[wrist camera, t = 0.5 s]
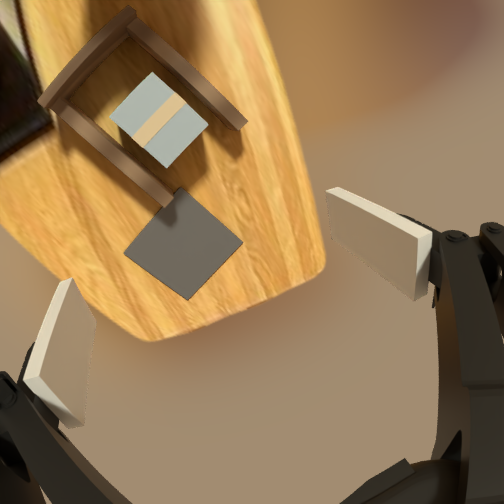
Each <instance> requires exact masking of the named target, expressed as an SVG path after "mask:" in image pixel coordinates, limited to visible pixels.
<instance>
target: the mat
mask: <svg viewBox="0 0 504 504" xmlns="http://www.w3.org/2000/svg"><path fill="white" fill-rule="evenodd" d="M173 196H174V198H173V199H172V200H171V202H170V203H169V204H168V205H167V206H166V207H165V208H164V207H162V208H161V209H160V210H159V211H158V213H157V214H156V215H155V216H154V217H153V218H152V219H151V221H150V222H149V223H148V224H147V225H146V226H145V228H144V229H143V230H142V231H141V232H140V233H139V235H138V236H137V237H136V238H135V239H134V241H133V242H132V243H131V244H130V245H129V247H128V248H127V249H126V250H125V252H124V254H125V255H126V256H128V257H129V258H130V259H132V260H133V261H134V262H135V263H137V264H138V265H140V266H141V267H142V268H144V269H145V270H146V271H148V272H149V273H150V274H152V275H153V276H154V277H156V278H157V279H159V280H160V281H161V282H163V283H164V284H165V285H167V286H168V287H170V288H171V289H172V290H174V291H175V292H177V293H178V294H180V295H181V296H182V297H184V298H185V299H187V300H188V299H189V298H190V297H191V296H192V295H193V294H194V293H195V292H196V291H197V290H198V289H199V288H200V287H201V286H202V285H203V284H204V283H205V282H206V280H207V279H208V278H209V277H210V276H211V275H212V274H213V273H214V272H215V271H216V270H217V269H218V268H219V267H220V266H221V265H222V264H223V263H224V262H225V261H226V260H227V259H228V258H229V256H230V255H231V254H232V253H233V252H234V251H235V250H236V249H237V248H238V247H239V246H240V245H241V244H242V243H243V242H242V241H241V240H240V239H239V238H238V237H237V236H236V235H235V234H233V233H232V232H231V231H230V230H229V229H228V228H227V227H226V226H224V225H223V224H222V223H221V222H220V221H219V220H218V219H217V218H215V217H214V216H213V215H212V214H211V213H210V212H209V211H208V210H206V209H205V208H204V207H203V206H202V205H201V204H200V203H199V202H197V201H196V200H195V199H194V198H193V197H192V196H191V195H190V194H188V193H187V192H186V191H185V190H184V189H183V188H182V187H180V188H179V189H178V190H177V191H176V192H175V193H174V195H173Z"/></svg>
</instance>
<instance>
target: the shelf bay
mask: <svg viewBox="0 0 504 504" xmlns="http://www.w3.org/2000/svg"><path fill="white" fill-rule="evenodd" d="M128 36H130V37H131V38H132V39H133V40H134V41H136V42H137V43H138V44H139V45H140V46H141V47H143V48H144V49H145V50H146V51H147V52H148V53H149V54H150V55H152V56H153V57H154V58H155V59H156V60H157V61H158V62H159V63H161V64H162V65H163V66H164V67H165V68H166V69H167V70H168V71H169V72H171V73H172V74H173V75H174V76H175V77H176V78H177V79H178V80H179V81H180V82H181V83H182V84H184V85H185V86H186V87H187V88H188V89H189V90H190V91H191V92H192V93H193V94H194V95H195V96H196V97H197V98H198V99H199V100H200V101H201V102H202V103H204V104H205V105H206V106H207V107H208V108H209V109H210V110H211V111H212V112H213V113H214V114H215V115H216V116H217V117H218V118H219V119H220V120H221V121H222V122H223V123H224V124H225V125H226V126H227V127H228V128H229V129H230V130H236V131H239V130H240V129H241V128H242V127H243V126H244V125H245V124H246V123H247V122H248V120H247V119H246V118H245V117H244V116H243V115H242V114H241V113H240V112H239V111H238V110H237V109H236V108H235V107H234V106H233V105H232V104H231V103H230V102H229V101H228V100H227V99H226V98H225V97H224V96H223V95H222V94H221V93H220V92H219V91H218V90H217V89H216V88H215V87H214V86H213V85H212V84H211V83H210V82H209V81H208V80H207V79H206V78H205V77H204V76H202V75H201V74H200V73H199V72H198V71H197V70H196V69H195V68H194V67H193V66H192V65H191V64H190V63H189V62H188V61H187V60H185V59H184V58H183V57H182V56H181V55H180V54H179V53H178V52H177V51H176V50H174V49H173V48H172V47H171V46H170V45H169V44H168V43H167V42H166V41H164V40H163V39H162V38H161V37H160V36H159V35H158V34H156V33H155V32H154V31H153V30H152V29H151V28H149V27H148V26H147V25H146V24H145V23H144V22H142V21H141V20H140V19H139V18H138V17H137V14H136V11H135V10H134V9H133V8H132V7H130V6H129V5H128V6H126V7H125V8H124V9H123V10H122V11H121V12H119V13H118V14H117V15H116V16H115V17H114V18H113V19H112V20H111V21H109V22H108V23H107V24H106V25H105V26H104V27H103V28H102V29H101V30H100V31H99V32H98V33H97V34H96V35H95V36H94V37H93V38H92V39H91V40H90V41H89V42H88V43H87V44H86V45H85V46H84V47H83V48H82V49H81V50H80V51H79V52H78V53H77V54H76V55H75V56H74V57H73V58H72V60H71V61H70V62H69V63H68V64H67V65H66V66H65V67H64V69H63V70H62V71H61V72H60V73H59V74H58V76H57V77H56V78H55V79H54V80H53V82H52V83H51V84H50V85H49V86H48V88H47V89H46V90H45V92H44V93H43V94H42V95H41V97H40V98H39V99H38V101H37V102H38V103H39V104H41V105H42V106H43V107H44V108H50V109H52V110H53V111H54V112H55V113H56V114H57V115H58V116H59V117H60V118H62V119H63V120H64V121H65V122H66V123H67V124H68V125H69V126H71V127H72V128H73V129H74V130H75V131H76V132H77V133H78V134H80V135H81V136H82V137H83V138H84V139H85V140H86V141H88V142H89V143H90V144H91V145H92V146H93V147H94V148H96V149H97V150H98V151H99V152H100V153H101V154H102V155H104V156H105V157H106V158H107V159H108V160H109V161H110V162H112V163H113V164H114V165H115V166H116V167H117V168H118V169H120V170H121V171H122V172H123V173H124V174H125V175H127V176H128V177H129V178H130V179H131V180H132V181H134V182H135V183H136V184H137V185H138V186H139V187H141V188H142V189H143V190H144V191H145V192H146V193H148V194H149V195H150V196H151V197H152V198H153V199H155V200H156V201H157V202H158V203H159V204H161V205H162V206H163V207H164V208H165V207H166V206H167V205H168V204H169V203H170V202H171V200H172V199H173V198H174V196H173V192H172V190H171V189H170V188H169V187H168V186H167V185H166V184H164V183H163V182H162V181H161V180H160V179H159V178H158V177H156V176H155V175H154V174H153V173H152V172H151V171H150V170H148V169H147V168H146V167H145V166H144V165H143V164H142V163H140V162H139V161H138V160H137V159H136V158H135V157H134V156H132V155H131V154H130V153H129V152H128V151H127V150H126V149H125V148H123V147H122V146H121V145H120V144H119V143H118V142H117V141H115V140H114V139H113V138H112V137H111V136H110V135H109V134H107V133H106V132H105V131H104V130H103V129H102V128H101V127H100V126H98V125H97V124H96V123H95V122H94V121H93V120H92V119H90V118H89V117H88V116H87V115H86V114H85V113H84V112H83V111H81V110H80V109H79V108H78V107H77V106H76V105H75V104H74V103H72V102H71V101H70V100H69V99H70V97H71V96H72V95H73V94H74V93H75V91H76V90H77V89H78V88H79V87H80V86H81V85H82V83H83V82H84V81H85V80H86V79H87V78H88V77H89V76H90V74H91V73H92V72H93V71H94V70H95V69H96V68H97V67H98V66H99V65H100V64H101V63H102V62H103V61H104V60H105V59H106V58H107V57H108V56H109V55H110V54H111V53H112V52H113V51H114V50H115V49H116V48H117V47H118V46H119V45H120V44H121V43H122V42H123V41H124V40H125V39H126V38H127V37H128Z"/></svg>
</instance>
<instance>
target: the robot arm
mask: <svg viewBox="0 0 504 504" xmlns="http://www.w3.org/2000/svg"><path fill="white" fill-rule="evenodd" d="M325 192H326V198H327V206H328V214H329V222H330V230H331V238H332V240H334V241H335V242H337V243H338V244H339V245H341V246H342V247H343V248H345V249H346V250H347V251H349V252H350V253H351V254H353V255H354V256H355V257H357V258H358V259H360V260H361V261H362V262H363V263H365V264H366V265H367V266H369V267H370V268H371V269H373V270H374V271H375V272H377V273H378V274H379V275H380V276H382V277H383V278H384V279H386V280H387V281H388V282H390V283H391V284H392V285H393V286H395V287H396V288H397V289H399V290H400V291H401V292H402V293H404V294H405V295H406V296H407V297H409V298H410V299H411V300H412V301H416V300H417V299H419V298H421V297H422V296H424V295H426V294H427V291H428V282H429V281H430V282H431V283H432V284H434V285H435V289H434V297H433V304H432V308H434V307H435V309H436V320H437V334H438V358H439V399H438V423H437V424H438V425H437V436H436V442H435V445H434V449H433V452H432V457H431V460H427V461H421V462H417V463H413V464H409V463H408V462H407V460H406V459H405V458H404V459H403V460H401V461H399V462H398V463H396V464H395V465H393V466H392V467H390V468H388V469H386V470H385V471H383V472H381V473H379V474H378V475H376V476H374V477H373V478H371V479H369V480H368V481H366V482H365V483H364V484H363V485H362V486H361V487H359V488H358V489H357V490H356V491H355V492H354V493H353V494H351V495H350V496H349V497H347V498H346V499H345V500H344V501H342V502H341V503H340V504H504V344H503V339H502V336H503V338H504V226H502V225H500V224H498V223H494V222H489V223H488V222H487V223H483V224H482V225H481V227H480V234H479V236H475V237H469V236H468V235H467V234H466V233H464V232H461V231H456V230H448V231H445V232H442V233H440V232H438V231H437V230H435V229H433V228H431V227H429V226H427V225H425V224H422V223H421V222H419V221H415V219H413V218H411V217H408V216H406V215H402V214H397V213H394V212H391V211H390V210H388V209H385V208H383V207H381V206H379V205H377V204H375V203H373V202H370V201H368V200H366V199H364V198H362V197H359V196H357V195H355V194H353V193H351V192H348V191H346V190H344V189H342V188H339V187H336V188H333V189H330V190H326V191H325ZM501 270H502V276H501V275H500V273H501ZM96 323H97V321H96V319H95V318H94V316H93V314H92V313H91V311H90V309H89V307H88V306H87V304H86V302H85V300H84V298H83V296H82V295H81V293H80V291H79V289H78V287H77V285H76V283H75V281H74V280H73V278H69V279H67V280H64V281H62V282H60V283H59V285H58V287H57V290H56V292H55V294H54V297H53V299H52V301H51V304H50V306H49V308H48V311H47V313H46V316H45V318H44V321H43V323H42V326H41V328H40V331H39V334H38V336H37V339H36V342H34V343H33V344H32V346H31V347H30V348H29V350H28V352H27V354H26V357H25V361H24V363H23V366H22V367H23V368H22V369H21V372H20V375H19V378H18V381H17V384H16V383H15V382H14V381H13V379H12V378H11V377H10V376H9V374H8V373H6V372H5V371H1V372H0V504H46V502H45V500H44V497H43V494H42V491H41V489H40V487H41V488H42V490H43V491H44V493H45V494H46V495H47V497H48V498H49V500H50V501H51V503H52V504H132V503H131V502H130V501H129V500H128V499H127V498H125V497H124V496H123V495H122V494H121V493H120V492H119V491H118V490H117V489H116V488H114V487H113V486H112V485H111V484H110V483H109V482H108V481H107V480H106V479H105V478H104V477H103V476H102V475H101V474H100V473H99V472H98V471H97V470H96V469H95V468H94V467H93V466H92V465H91V464H90V463H89V462H88V460H86V458H85V457H84V456H83V455H82V454H81V453H80V452H79V451H78V449H77V448H76V447H75V446H74V445H73V444H72V443H71V442H70V440H69V439H68V438H67V437H66V435H65V434H64V433H63V432H62V431H61V430H59V428H58V425H59V420H60V421H61V422H62V423H63V424H64V425H65V426H66V427H67V428H68V429H70V428H75V427H80V426H84V423H85V409H86V398H87V388H88V379H89V370H90V363H91V355H92V348H93V342H94V336H95V330H96ZM501 334H502V335H501ZM39 485H40V486H39Z"/></svg>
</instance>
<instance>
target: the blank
mask: <svg viewBox="0 0 504 504" xmlns="http://www.w3.org/2000/svg"><path fill="white" fill-rule="evenodd" d="M109 118H110V119H112V120H113V121H114V122H115V123H116V124H117V125H118V126H119V127H121V128H122V129H123V130H124V131H125V132H126V133H127V134H129V135H130V136H131V137H132V139H133V140H134V141H136V142H137V143H138V144H139V145H140V146H141V147H142V148H144V149H145V150H147V151H148V152H149V153H150V154H151V155H152V156H153V157H154V158H156V159H157V160H158V161H159V162H160V163H161V164H162V165H163V166H164V167H166V168H168V167H169V165H170V164H171V163H172V162H173V161H174V160H175V159H176V158H177V157H178V156H179V155H180V154H181V153H182V152H183V151H184V149H185V148H186V147H187V146H188V145H189V144H190V143H191V142H192V141H193V140H194V139H195V138H196V137H197V136H198V135H199V134H200V133H201V132H202V131H203V130H204V129H205V128H206V127H207V126H208V125H209V124H208V123H207V122H206V121H205V120H204V119H203V118H201V117H200V116H199V115H198V114H197V113H196V112H195V111H194V110H193V109H192V108H191V107H190V106H189V105H188V104H187V102H185V101H184V100H183V99H182V98H181V97H180V96H179V95H178V94H177V93H176V92H174V91H173V90H172V89H171V88H170V87H168V86H167V85H166V84H165V83H164V82H163V81H162V80H161V79H160V78H159V77H157V76H156V75H155V74H154V73H153V72H151V73H150V74H149V75H148V76H147V77H146V78H145V79H144V80H143V81H142V82H141V83H140V84H139V85H138V86H137V87H136V88H135V89H134V90H133V91H132V92H131V93H130V94H129V96H128V97H127V98H126V99H125V100H124V101H123V102H122V103H121V104H120V105H119V106H118V107H117V108H116V110H115V111H114V112H113V113H112V114H111V115H110V116H109Z"/></svg>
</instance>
